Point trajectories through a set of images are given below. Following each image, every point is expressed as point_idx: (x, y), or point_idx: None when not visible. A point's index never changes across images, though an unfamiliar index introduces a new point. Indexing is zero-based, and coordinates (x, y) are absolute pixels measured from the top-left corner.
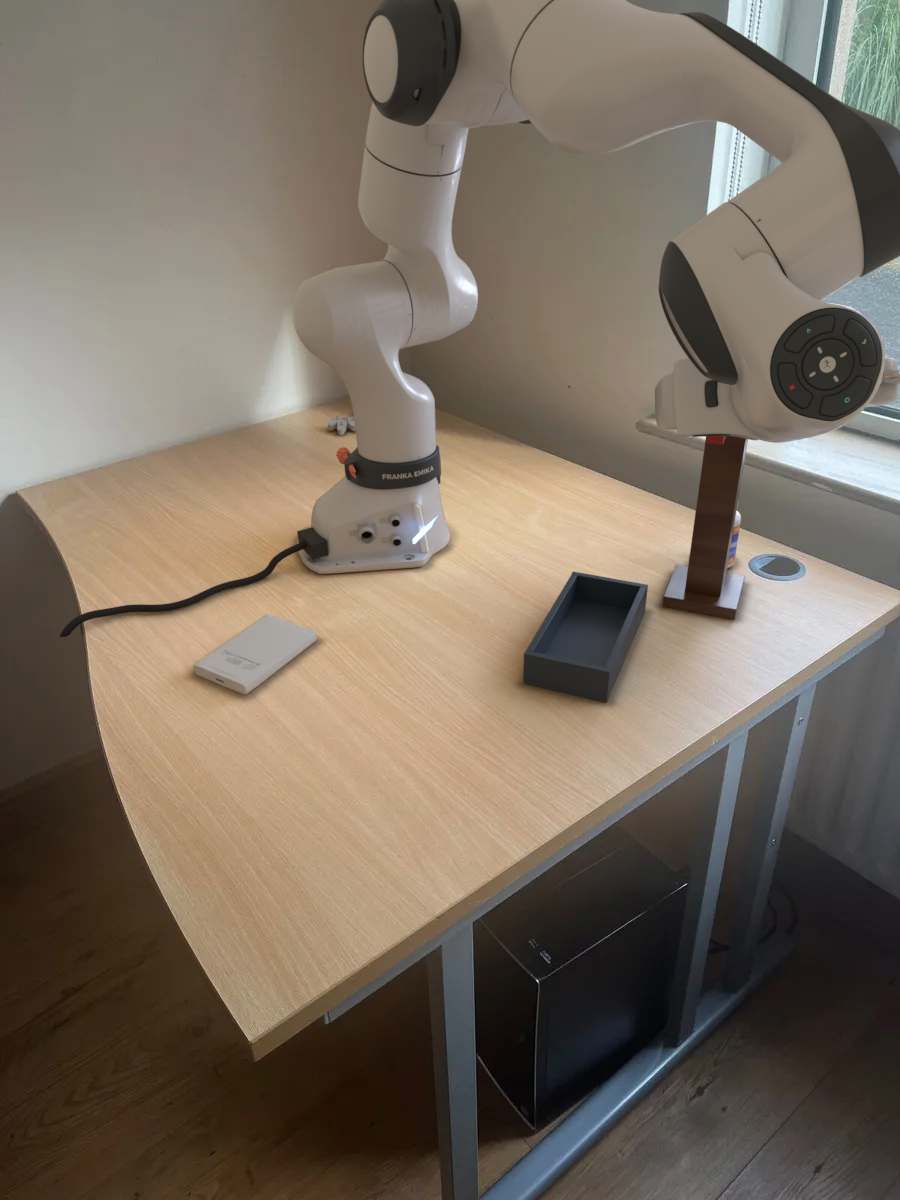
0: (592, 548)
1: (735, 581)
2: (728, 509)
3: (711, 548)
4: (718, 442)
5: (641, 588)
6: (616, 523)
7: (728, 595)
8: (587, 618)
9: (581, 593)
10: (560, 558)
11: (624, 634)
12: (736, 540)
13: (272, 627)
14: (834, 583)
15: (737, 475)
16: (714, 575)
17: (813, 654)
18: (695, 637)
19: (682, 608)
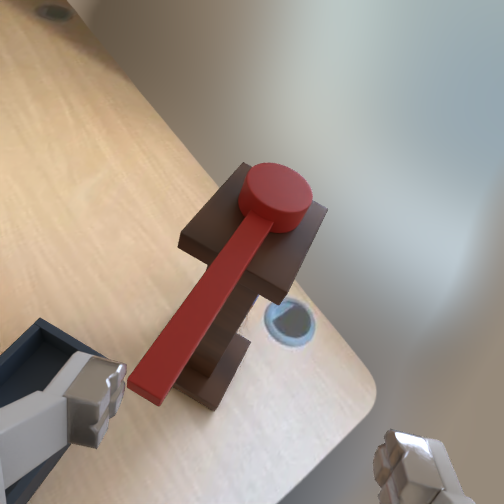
0: (121, 247)
1: (237, 350)
2: (230, 327)
3: (205, 346)
4: (150, 400)
5: None
6: (167, 214)
7: (219, 376)
8: (35, 387)
9: (49, 341)
10: (76, 256)
11: (20, 492)
12: (257, 296)
13: None
14: (334, 360)
15: (248, 305)
16: (205, 364)
17: (274, 499)
18: (155, 442)
19: None
